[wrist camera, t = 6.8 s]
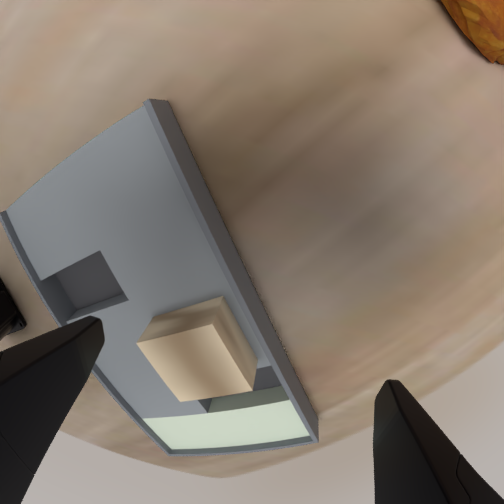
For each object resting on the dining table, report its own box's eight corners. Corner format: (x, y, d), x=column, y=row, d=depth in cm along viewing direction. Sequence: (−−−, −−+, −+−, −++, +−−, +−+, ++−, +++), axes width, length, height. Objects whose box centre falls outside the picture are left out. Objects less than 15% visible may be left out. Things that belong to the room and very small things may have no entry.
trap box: (175, 437, 30) (168, 456, 28) (19, 205, 21) (-3, 215, 19) (318, 419, 26) (318, 442, 24) (167, 100, 17) (149, 98, 15)
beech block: (191, 373, 23) (180, 401, 20) (153, 316, 21) (136, 343, 18) (258, 359, 21) (252, 390, 19) (223, 295, 20) (212, 323, 17)
